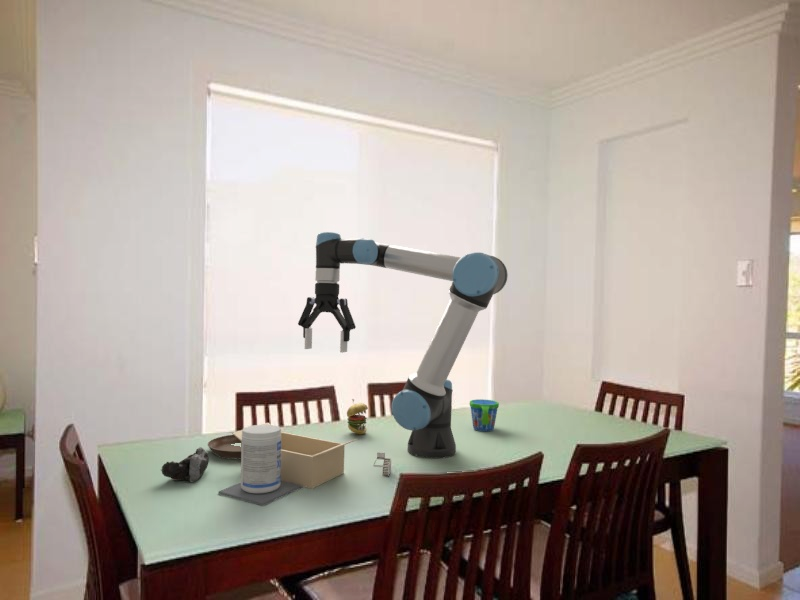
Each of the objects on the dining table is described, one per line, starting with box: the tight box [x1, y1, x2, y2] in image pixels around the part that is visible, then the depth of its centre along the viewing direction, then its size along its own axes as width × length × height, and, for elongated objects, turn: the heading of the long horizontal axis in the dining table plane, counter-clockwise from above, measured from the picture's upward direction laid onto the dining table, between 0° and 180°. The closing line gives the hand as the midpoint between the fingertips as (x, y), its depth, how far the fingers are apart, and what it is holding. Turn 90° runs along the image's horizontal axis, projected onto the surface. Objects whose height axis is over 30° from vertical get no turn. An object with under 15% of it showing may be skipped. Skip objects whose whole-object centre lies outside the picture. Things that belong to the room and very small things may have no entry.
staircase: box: [372, 452, 392, 477], centre depth 153 cm, size 6×4×6 cm, turn 174°
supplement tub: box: [240, 424, 282, 494], centre depth 138 cm, size 10×10×15 cm
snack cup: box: [469, 398, 500, 432], centre depth 206 cm, size 16×10×10 cm
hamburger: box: [346, 398, 368, 435], centre depth 195 cm, size 8×7×12 cm
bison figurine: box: [160, 446, 210, 483], centre depth 147 cm, size 12×7×10 cm
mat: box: [218, 480, 302, 507], centre depth 138 cm, size 14×14×1 cm
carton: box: [231, 422, 358, 489], centre depth 152 cm, size 32×14×10 cm, turn 62°
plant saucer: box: [207, 434, 242, 460], centre depth 171 cm, size 21×21×3 cm
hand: (325, 350), depth 175 cm, fingers open, 13 cm apart
